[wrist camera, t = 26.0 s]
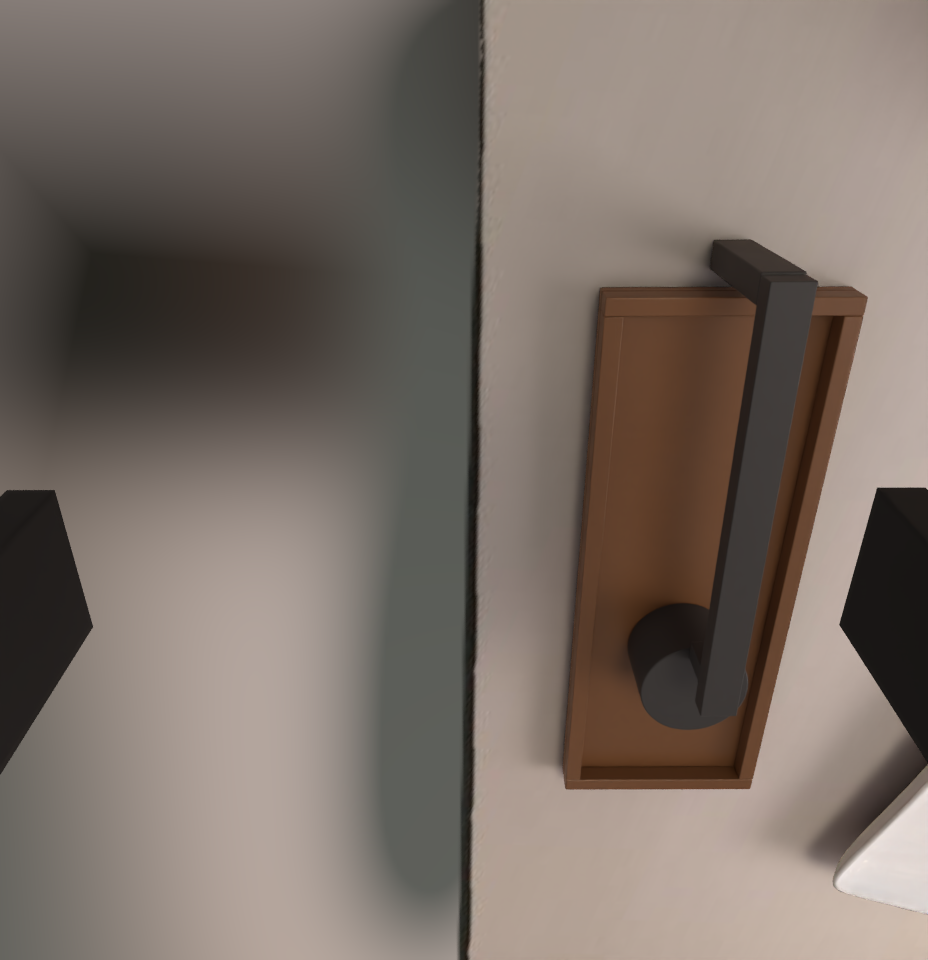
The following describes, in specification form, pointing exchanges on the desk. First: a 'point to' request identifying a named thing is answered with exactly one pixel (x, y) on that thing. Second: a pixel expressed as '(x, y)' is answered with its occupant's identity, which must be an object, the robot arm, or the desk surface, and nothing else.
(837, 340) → the spoon rest
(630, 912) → the desk surface
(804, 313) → the ladle
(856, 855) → the salad plate
